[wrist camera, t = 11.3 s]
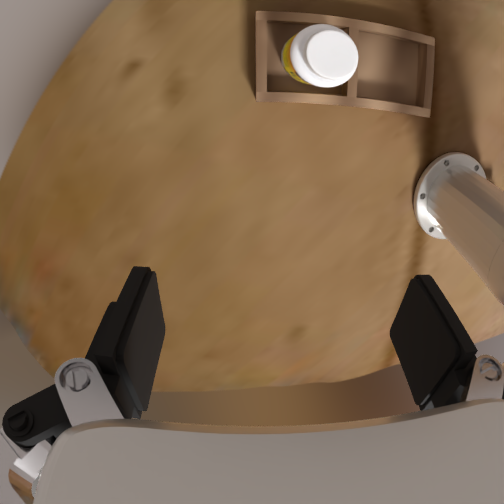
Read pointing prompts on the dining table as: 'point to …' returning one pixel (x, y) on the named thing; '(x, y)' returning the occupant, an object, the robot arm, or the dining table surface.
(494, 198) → the robot arm
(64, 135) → the dining table surface
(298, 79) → the supplement bottle
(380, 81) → the divided well tray
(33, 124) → the dining table surface
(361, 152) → the dining table surface
